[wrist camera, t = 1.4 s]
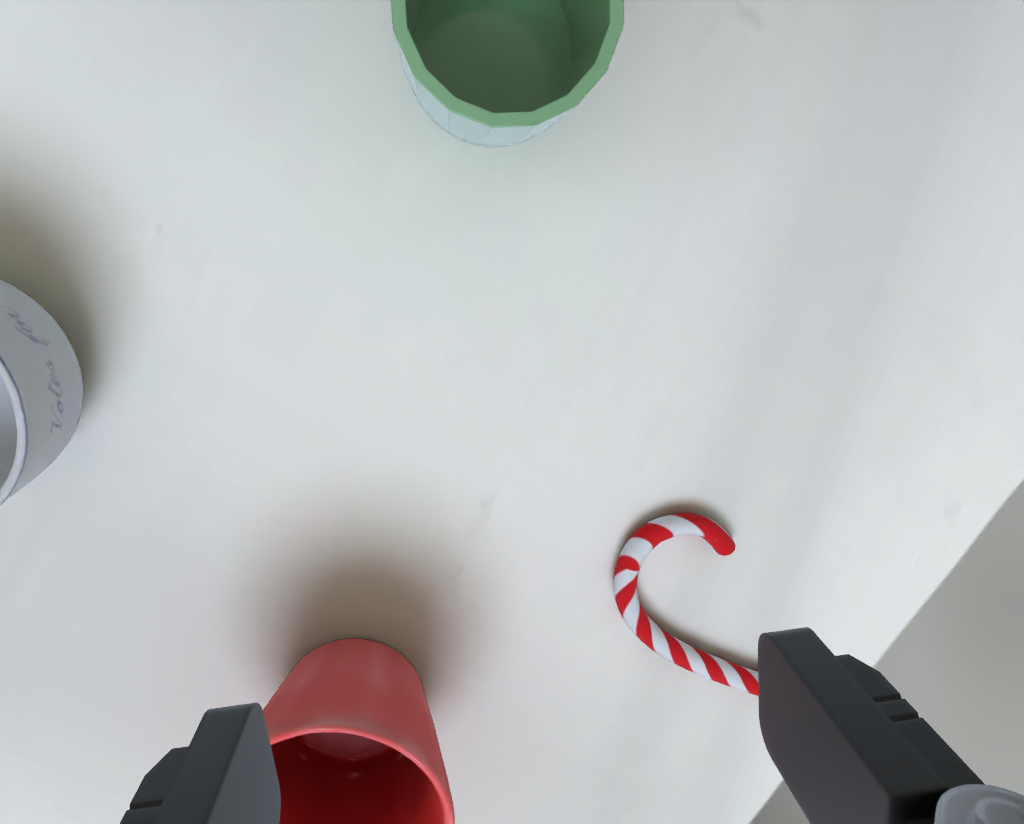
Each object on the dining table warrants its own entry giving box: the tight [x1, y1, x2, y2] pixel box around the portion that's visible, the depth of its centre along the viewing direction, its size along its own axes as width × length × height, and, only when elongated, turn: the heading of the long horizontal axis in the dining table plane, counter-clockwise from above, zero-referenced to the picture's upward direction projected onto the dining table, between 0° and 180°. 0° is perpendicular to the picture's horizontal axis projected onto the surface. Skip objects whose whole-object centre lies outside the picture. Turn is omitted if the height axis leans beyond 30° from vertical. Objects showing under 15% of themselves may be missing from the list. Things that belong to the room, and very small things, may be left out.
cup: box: [391, 0, 624, 147], centre depth 30 cm, size 8×8×9 cm
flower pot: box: [263, 638, 455, 824], centre depth 38 cm, size 11×11×10 cm
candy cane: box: [613, 513, 759, 696], centre depth 42 cm, size 8×1×15 cm
